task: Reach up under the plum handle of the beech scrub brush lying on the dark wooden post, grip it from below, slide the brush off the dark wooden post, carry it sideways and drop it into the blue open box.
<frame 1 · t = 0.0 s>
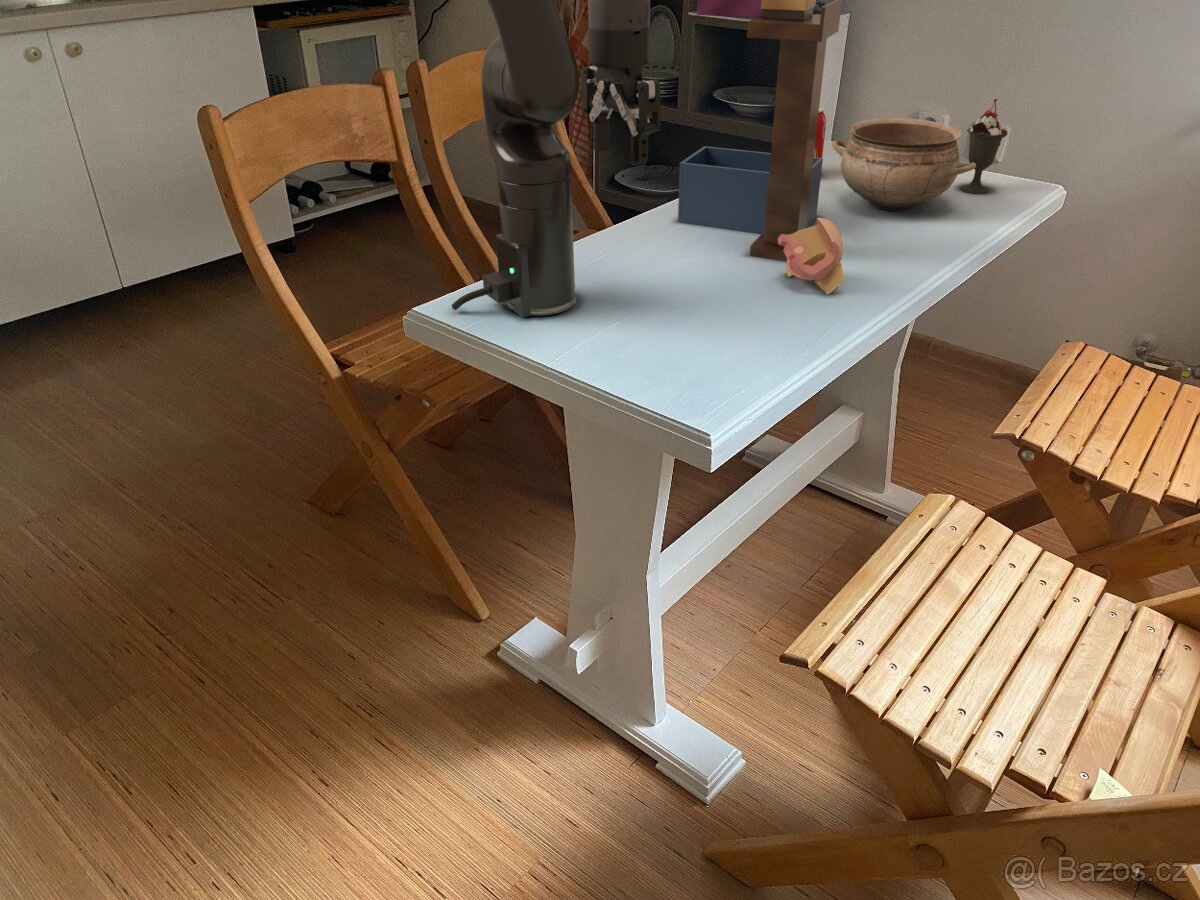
hand: (620, 157, 118), 17 cm above the table, tool pointing down, fingers open, 8 cm apart
dark wooden post: (773, 249, 136), on the table
cooking pot: (892, 205, 153), on the table
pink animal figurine: (812, 285, 125), on the table
brush: (758, 16, 121), point 32 cm above the table, touching dark wooden post
soda can: (800, 176, 168), on the table
sundae: (974, 190, 159), on the table
blue open box: (747, 219, 148), on the table
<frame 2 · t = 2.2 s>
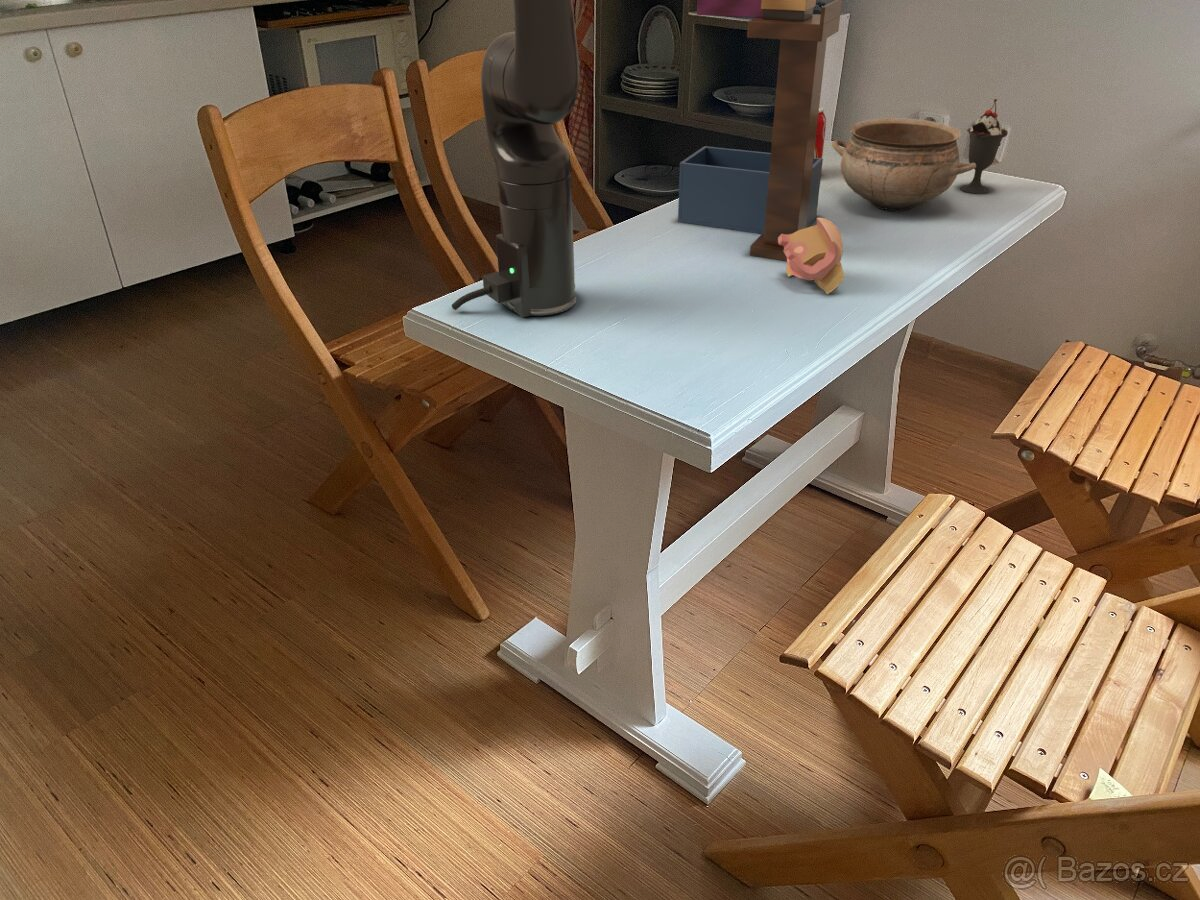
nothing on the table moved.
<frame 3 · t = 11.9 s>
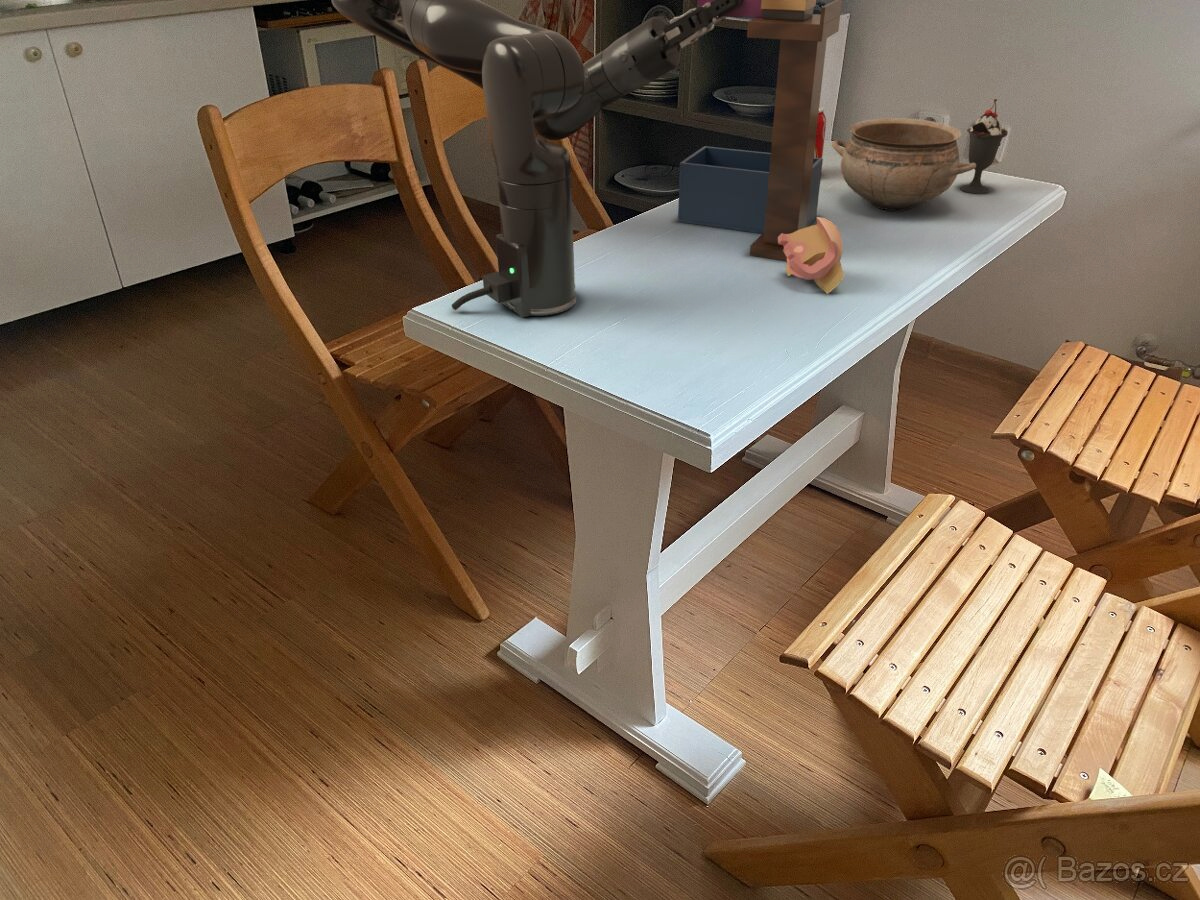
brush: (758, 16, 121), point 32 cm above the table, touching gripper, dark wooden post
everything else where it was.
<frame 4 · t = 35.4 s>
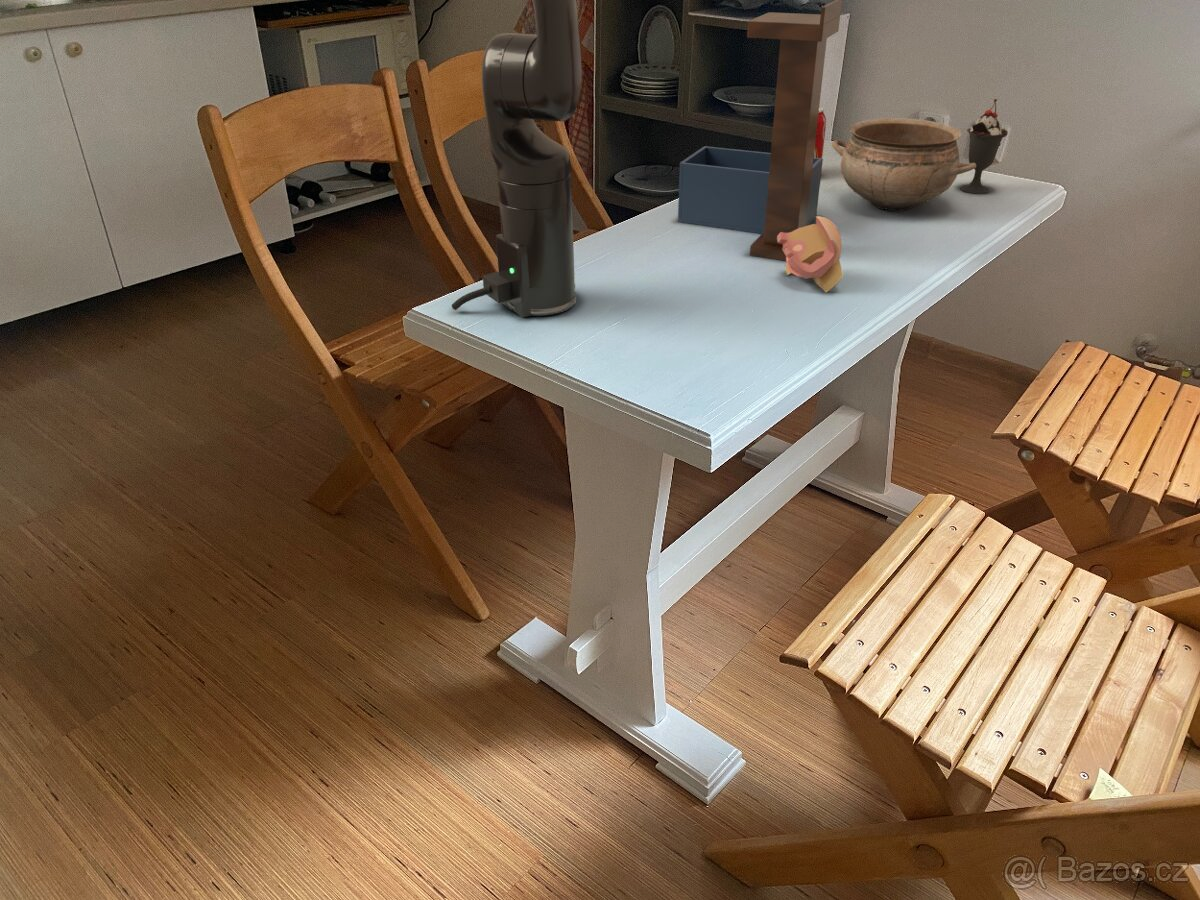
brush: (750, 216, 147), point 1 cm above the table, touching blue open box
everything else where it was.
at the end: brush inside the target area in the blue open box (0.4 cm from its centre), point 0.6 cm above the blue open box's base; brush 0.5 cm from the blue open box (horizontally); the gripper is holding nothing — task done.
